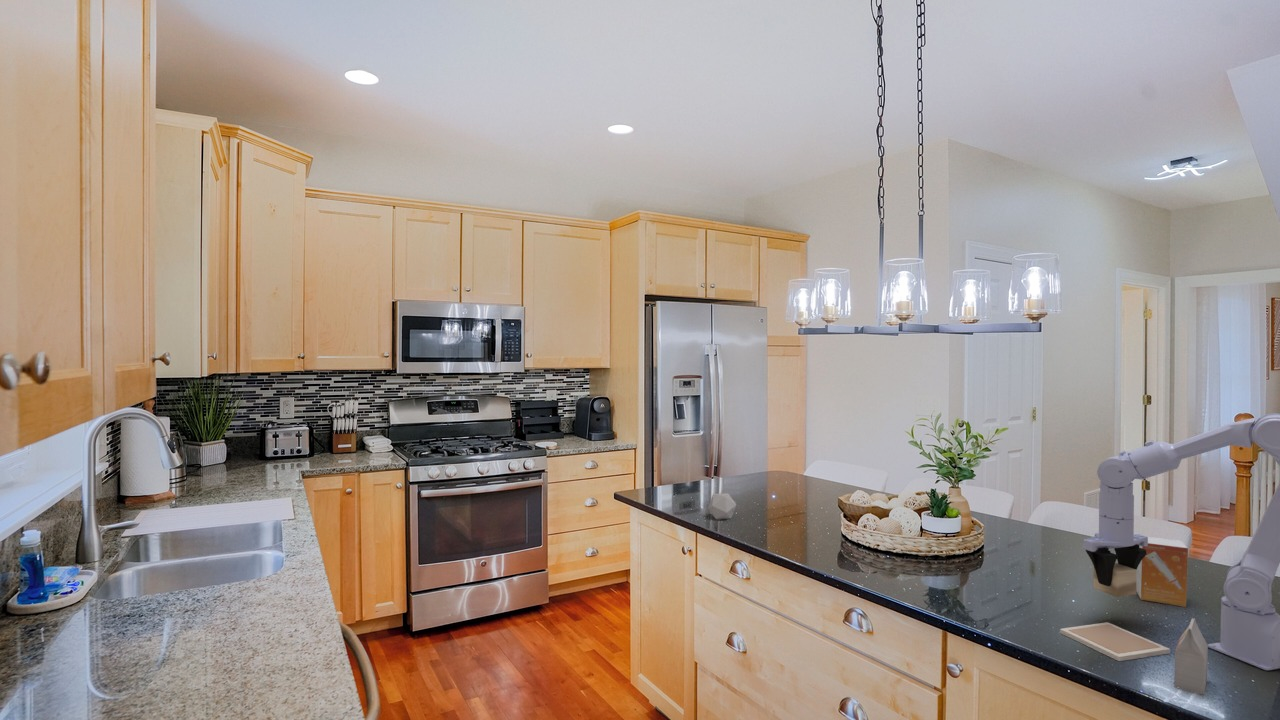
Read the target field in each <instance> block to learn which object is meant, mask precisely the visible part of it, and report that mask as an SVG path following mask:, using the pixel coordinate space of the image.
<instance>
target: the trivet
mask: <svg viewBox="0 0 1280 720" xmlns="http://www.w3.org/2000/svg"><path fill="white" fill-rule="evenodd" d="M1059 634H1061V635H1063V636H1065V637H1067V638H1069V639H1072V640H1074V641H1076V642H1078V643H1080V644H1082V645H1085V646H1087V647H1088V648H1091V649H1092V650H1094V651H1096V652H1099V653H1101V654H1104V655H1105V656H1107V657H1109V658H1111V659H1112V660H1116V661H1117V662H1124V661H1130V660H1136V659H1142V658H1150V657H1155V656H1162V655H1167V654H1171V648H1169V647H1166V646H1164V645H1162V644H1160V643H1156V642H1155V641H1152V640H1150V639H1148V638H1146V637H1143V636H1141V635H1139V634H1136V633H1133V632H1131V631H1129V630H1127V629H1124V628H1121V627H1120V626H1118V625H1115V624H1113V623H1111V622H1108V621H1106V622H1101V623H1093V624H1085V625H1078V626H1071V627H1070V626H1069V627H1063V628H1059Z"/></svg>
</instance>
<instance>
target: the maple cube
mask: <svg viewBox="0 0 1280 720" xmlns="http://www.w3.org/2000/svg"><path fill="white" fill-rule="evenodd" d="M1136 577H1137V570H1136V569H1133V568H1130V567H1127V566H1124V565H1121V564H1118V562H1117V563H1116V562H1115V565H1114V568H1113V575H1112V583H1111V586H1105V585H1103V584H1100V583H1099V582H1098V578H1097V574H1096V571H1095V568H1094V567H1093V589H1095V590H1097V591H1099V592H1103V593H1106V594H1108V595H1109V596H1110V595H1111V596H1113V597H1116V598H1120V597H1126V596H1133V595H1134V596H1135V595H1137V591H1136V580H1137V578H1136Z"/></svg>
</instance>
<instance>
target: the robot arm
mask: <svg viewBox="0 0 1280 720" xmlns="http://www.w3.org/2000/svg"><path fill="white" fill-rule="evenodd" d="M1255 420H1256V421H1255ZM1253 443H1255V445H1257V446H1258V447H1259V448H1260V449H1262V450H1263V451H1264V452H1266V454H1268V455H1269V456H1271V457H1272V458H1274V461H1275V462H1276V464H1277V465H1278V467H1280V413H1278V412H1276V413H1272V412H1271V413H1268V414H1264V415H1263V416H1261V417H1259V418H1258V419H1256V417H1252V418H1246V419H1243V420H1238V421H1234V422H1230V423H1227V424H1224V425H1221V426H1219V427H1216V428H1213V429H1211V430H1208V431H1205V432H1202V433H1200V434H1197V435H1194V436H1192V437H1188V438H1186V439H1184V440H1181V441H1179V442H1175V443H1169V442H1166V441H1162V440H1159V441H1154V440H1149V441H1146V442H1145V443H1144V446H1141V447H1138V448H1136V449H1135V448H1134V449H1132V450H1130V451H1127V452H1126V451H1125V450H1121V451H1119V452H1118V455H1119V456H1117V455H1114V456H1110V457H1107V458H1106V459H1105V460H1104V461H1102V462H1100V464H1099V465H1098V467H1097V471H1096V473H1097V477H1098V479H1099V480H1100V481H1099V482H1100V483H1099V489H1100V490H1099V492H1098V532H1095V533H1094V536H1092V537H1090V538H1086V539H1085V538H1084V539H1083V540H1082V541H1083V544H1082V545H1083V546H1082V549H1083V550H1084V551H1085V552H1086V554H1087V555H1088V557H1089V559H1090V560H1091V562H1092V566H1093V569H1094V568H1095V571H1096V574H1097V578H1098V582H1099V583H1100V584H1103V585H1105V586H1111V583H1112V575H1113V568H1114V565H1115V563H1116V562H1117V564H1121V565H1124V566H1127V567H1130V568H1133V569H1136V570H1137V568H1138V565H1139V564H1140V562H1141V560H1142V559H1143V558H1144V557H1145V555H1146V550H1145V549H1142V548H1139V546H1140V545H1141V546H1148V537H1149V536H1147V535H1142V534H1140V533H1139V534H1134V533H1135V532H1134V526H1135V525H1134V523H1135V515H1134V514H1135V495H1134V483H1133V482H1134V480H1146V479H1149V478H1151V477H1155V476H1158V475H1162V474H1164V473H1168V472H1170V471H1173V470H1177V469H1179V466H1180V464H1181V461H1182V460H1184V459H1187V458H1191V457H1195V456H1198V455H1202V454H1205V453H1208V452H1211V451H1215V450H1218V449H1222V448H1226V447H1229V446H1235V447H1243V448H1249V449H1251V448H1252V447H1253ZM1110 549H1113V550H1114V552H1115V553H1114V552H1111V550H1110ZM1279 565H1280V481H1279V482H1278V484H1277V486H1276V488H1275V491H1274V493H1273V495H1272V496H1271V500H1270V501H1269V503H1268V505H1267V507H1266V509H1265V511H1264V514H1263V515H1262V517H1261V520H1260V522H1259V523H1258V525H1257V528H1256V530H1255V533H1254V534H1253V536H1252V538H1251V540H1250V542H1249V544H1248V546H1247V548H1246V550H1245V552H1244V553H1243V554H1242V557H1241V559H1240V560H1239V562H1237V563H1236V564H1233V565H1232V566H1231V567H1229V568H1228V570H1227V572H1226V575H1225V579H1226V580H1225V581H1224V584H1223V594H1224V595H1223V596H1222V597H1221V598H1220V600H1221V602H1220V638H1219V641H1220V642H1214V643H1207V645H1208V648H1209V649H1211V650H1214V651H1218V652H1219V653H1221V654H1225V655H1227V656H1229V657H1231V658H1234V659H1236V660H1240V661H1241V662H1244V663H1246V664H1249V665H1251V666H1255V667H1257V668H1259V669H1262V670H1264V671H1273V670H1278V669H1280V614H1279V613H1278V612H1276V606H1275V605H1273V604H1272V599H1273V593H1272V588H1273V581H1274V579H1275V576H1276V574H1277V570H1278V569H1279Z"/></svg>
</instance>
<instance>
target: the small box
mask: <svg viewBox="0 0 1280 720" xmlns="http://www.w3.org/2000/svg"><path fill="white" fill-rule="evenodd" d="M1147 537H1148V546H1141V545H1140V546H1139V548H1142V549H1145V550H1146V555H1145V557H1144V558H1143V559H1142V560H1141V562H1140V564H1139V565H1138V568H1137V575H1136V594H1137V595H1138V597H1139V598H1140V600H1141V601H1147V602H1154V603H1155V602H1156V603H1161V604H1165V605H1171V606H1172V605H1173V606H1178V607H1183V608H1186V607H1187V600H1188V599H1187V598H1188V597H1187V595H1188V594H1187V593H1188V564H1189V563H1188V560H1189V548H1188V546H1187V545H1186V544H1185V543H1184V542H1183V540H1179V539H1178V540H1177V539H1169V538H1162V537H1152V536H1147Z"/></svg>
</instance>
